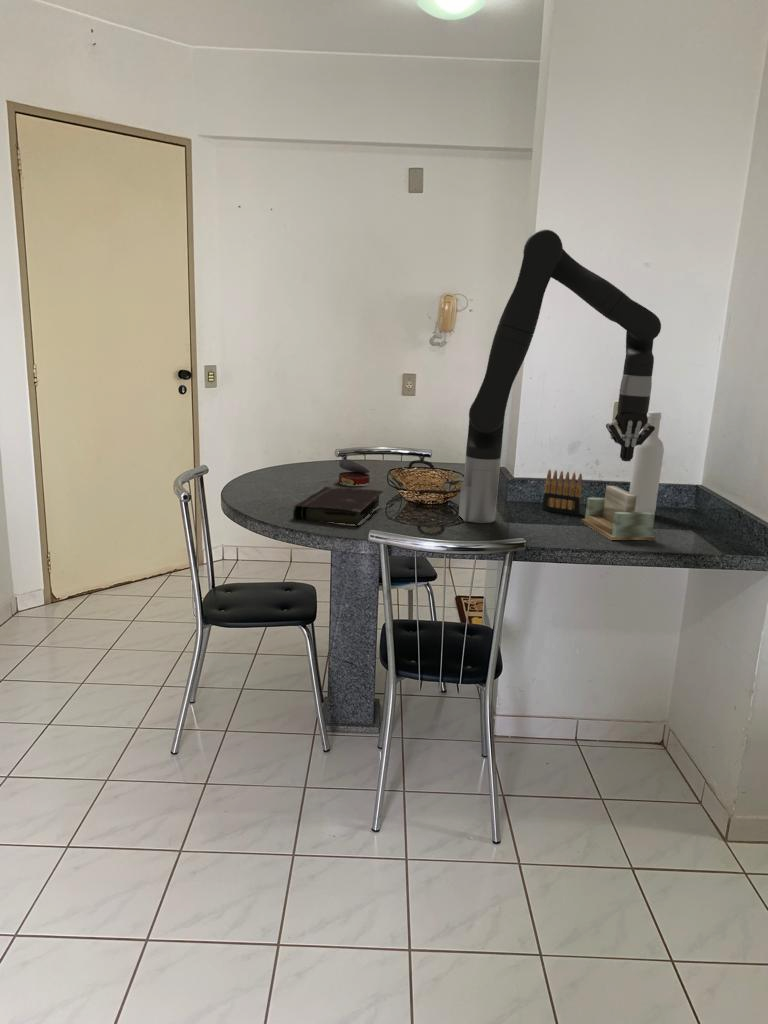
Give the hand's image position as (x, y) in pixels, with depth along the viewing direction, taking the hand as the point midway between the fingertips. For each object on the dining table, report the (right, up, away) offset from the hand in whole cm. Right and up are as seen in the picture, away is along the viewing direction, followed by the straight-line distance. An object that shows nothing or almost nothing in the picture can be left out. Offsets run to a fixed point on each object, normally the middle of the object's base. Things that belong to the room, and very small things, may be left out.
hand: (625, 460), depth 196 cm
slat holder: (-1, -18, +5) cm, 19 cm away
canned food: (-72, -4, +46) cm, 86 cm away
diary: (-74, -14, +8) cm, 76 cm away
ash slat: (-1, -17, +5) cm, 18 cm away
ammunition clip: (-12, -13, +23) cm, 29 cm away
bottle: (+12, -14, +26) cm, 32 cm away
